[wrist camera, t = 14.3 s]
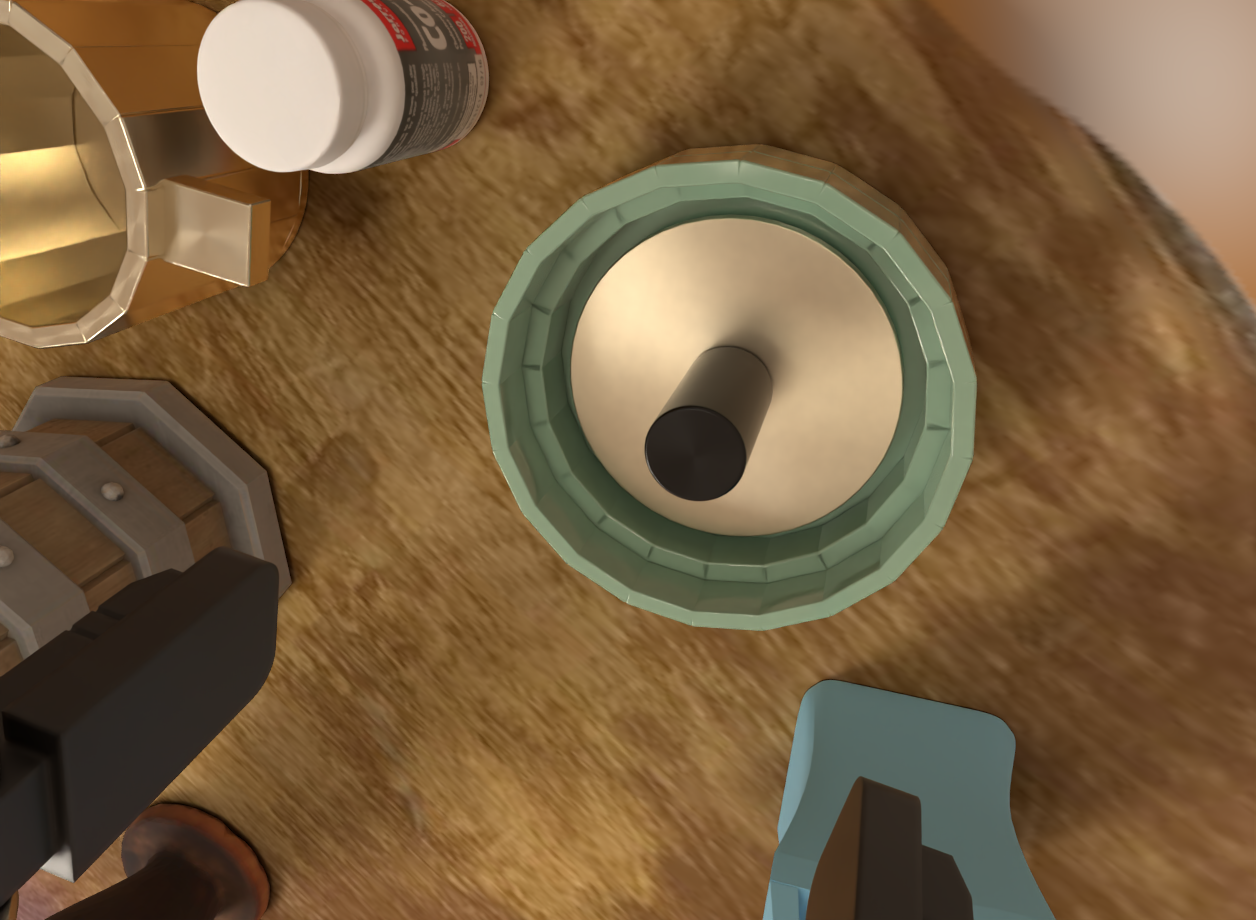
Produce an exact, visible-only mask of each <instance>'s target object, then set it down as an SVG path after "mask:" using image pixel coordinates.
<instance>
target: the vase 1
mask: <svg viewBox="0 0 1256 920" xmlns="http://www.w3.org/2000/svg"><path fill="white" fill-rule="evenodd" d="M121 858H122V862H123V866H124V870H125V873H126V875H127V877H128V878H126V879H124V880H122V881H121V882H119V883H117V884H115V885H113V886H111V887H109V888H107V889H105V890H103V891H101V892H99V893H97V894H94V895H92V896H90V897H88V898H86V899H84V900H82V901H80V902H78V903H76V904H74V905H72V906H70V907H68V908H66V909H64V910H62V911H60V912H58V913H56V914H54V915H52V916H50V917H48V918H47V919H45V920H260V918H261V917H262V915H263V914H264V912H265V911H266V909H267V905H268V902H269V898H270V891H269V886H270V885H269V882H268V879H267V876H266V873H265V871H264V869H263V867H262V866H261V864H260V863H259V861H258V859H257V856H256V854H255V853H254V852H253V850H252V849H251V848H250V847H249V846H248V844H247V843H246V842H245V841H243V840H242V839H240V838H239V837H238V836H236V835H235V834H234V833H233V832H232V831H231V830H229V829H228V828H227V826H226V825H225V824H224V823H223V822H222V821H220V820H219V819H217V818H215V817H213V816H211V815H209V814H207V813H205V812H203V811H201V810H199V809H196V808H192V807H190V806H185V805H177V804H158V805H156V806H153V807H149V808H147V809H146V810H144V811H143V812H142V813H141V814H140V815H139V816H138V817H137V818H136V819H135V820H134V821H133V822H132V823H131V824H130V826H129V827H128V829H127V830H126V832H125V835H124V838H123V841H122V854H121Z"/></svg>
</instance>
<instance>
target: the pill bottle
mask: <svg viewBox="0 0 1256 920" xmlns="http://www.w3.org/2000/svg"><path fill="white" fill-rule="evenodd" d="M197 79H198V86H199V92H200V96H201V99H202V103H203V106H204V108H205V111H206V113H207V115H208V118H209V120H210V122H211V124H212V125H213V127H214V128H215V130H216V131H217V133H218V134H219V136H220V137H221V139H222V140H223V141H224V142H225V143H226V144H227V145H228V146H229V147H230V148H231V150H233V151H234V152H235V153H236V154H237V155H239V156H240V157H241V158H243V159H244V160H246V161H247V162H249V163H251V164H253V165H255V166H257V167H259V168H262V169H265V170H269V171H274V172H293V171H299V170H307V169H310V170H313V171H316V172H321V173H328V174H341V173H350V172H355V171H360V170H363V169H367V168H371V167H375V166H379V165H383V164H387V163H391V162H395V161H399V160H403V159H407V158H411V157H415V156H419V155H423V154H427V153H431V152H435V151H439V150H442V149H445V148H448V147H450V146H452V145H454V144H456V143H457V142H459V141H460V140H462V139H463V138H464V137H465V136H466V135H467V134H468V133H469V132H470V131H471V130H472V128H473V127H474V126H475V124H476V123H477V121H478V119H479V117H480V115H481V113H482V111H483V109H484V106H485V103H486V99H487V94H488V88H489V70H488V63H487V58H486V54H485V51H484V48H483V45H482V43H481V41H480V38H479V36H478V34H477V33H476V31H475V29H474V28H473V26H472V25H471V24H470V22H469V21H468V20H467V19H466V17H465V16H464V15H463V14H462V13H461V12H460V11H458V10H457V9H456V8H455V7H454V6H452V5H451V4H449V3H448V2H446V1H445V0H240V1H238V2H235V3H233V4H231V5H229V6H227V7H226V8H224V9H223V10H222V11H221V12H220V13H219V14H218V15H217V16H216V17H215V18H214V19H213V20H212V21H211V23H210V24H209V26H208V28H207V29H206V32H205V34H204V36H203V38H202V41H201V45H200V48H199V53H198V60H197Z"/></svg>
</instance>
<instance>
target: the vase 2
mask: <svg viewBox="0 0 1256 920" xmlns="http://www.w3.org/2000/svg"><path fill="white" fill-rule="evenodd" d="M1015 749H1016V741H1015V737H1014V734H1013V733H1012V731H1011V730H1010V729H1009V727H1008V726H1007V725H1006V723H1005V722H1004V721H1002V720H1001V719H1000V718H998V717H996V716H994V715H991V714H988V713H984V712H980V711H976V710H972V709H968V708H963V707H959V706H954V705H949V704H945V703H940V702H936V701H931V700H926V699H922V698H917V697H913V696H908V695H903V694H899V693H894V692H890V691H885V690H880V689H876V688H871V687H867V686H862V685H857V684H853V683H848V682H843V681H837V680H825V681H822V682H820V683H818V684H816V685H815V686H813V687H811V688H810V689H809V690H808V691H807V692H806V693H805V695H804V697H803V699H802V702H801V705H800V709H799V713H798V718H797V723H796V728H795V734H794V739H793V745H792V750H791V756H790V762H789V767H788V773H787V778H786V784H785V789H784V795H783V800H782V806H781V812H780V817H779V823H778V838H779V846H778V848H777V850H776V851H775V854H774V860H773V865H772V871H771V876H770V882H769V887H768V893H767V898H766V904H765V909H764V915H763V920H805V919H806V911H807V904H808V898H809V894H810V889H811V885H812V881H813V878H814V874H815V871H816V868H817V865H818V862H819V860H820V857H821V855H822V853H823V850H824V848H825V846H826V844H827V842H828V839H829V837H830V835H831V833H832V830H833V828H834V826H835V824H836V822H837V819H838V817H839V815H840V813H841V811H842V808H843V806H844V804H845V802H846V799H847V797H848V795H849V793H850V791H851V788H852V786H853V784H854V782H855V781H856V779H857V778H858V777H859V776H862V777H865V778H868V779H870V780H873V781H876V782H879V783H882V784H884V785H887V786H890V787H893V788H896V789H898V790H901V791H904V792H907V793H909V794H912V795H915V796H918V797H919V799H920V802H921V825H922V845H925V846H927V847H930V848H933V849H936V850H938V851H941V852H944V853H947V854H949V855H952V856H953V858H954V860H955V862H956V865H957V867H958V869H959V871H960V873H961V875H962V877H963V879H964V881H965V884H966V886H967V888H968V890H969V892H970V894H971V896H972V904H973V918H974V920H1056V919H1055V917H1054V915H1053V914H1052V912H1051V910H1050V908H1049V906H1048V904H1047V902H1046V901H1045V899H1044V897H1043V895H1042V893H1041V891H1040V889H1039V887H1038V885H1037V883H1036V881H1035V879H1034V877H1033V875H1032V873H1031V871H1030V869H1029V867H1028V865H1027V862H1026V860H1025V857H1024V855H1023V853H1022V850H1021V848H1020V845H1019V843H1018V840H1017V836H1016V833H1015V830H1014V826H1013V823H1012V820H1011V813H1010V785H1011V775H1012V769H1013V762H1014V756H1015Z"/></svg>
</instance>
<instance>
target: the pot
mask: <svg viewBox="0 0 1256 920" xmlns="http://www.w3.org/2000/svg"><path fill="white" fill-rule="evenodd" d="M217 15H218V13H216V12H214V11H212V10H210V9H208V8H206V7H204V6H202V5H199V4H197V3H194V2H191V1H188V0H0V336H2V337H5V338H8V339H11V340H14V341H16V342H19V343H22V344H25V345H28V346H31V347H34V348H39V349H44V348H53V347H62V346H70V345H79V344H87V343H90V342H93V341H95V340H98V339H101V338H103V337H106V336H109V335H111V334H114V333H117V332H119V331H122V330H124V329H127V328H130V327H132V326H135V325H138V324H140V323H143V322H146V321H148V320H151V319H154V318H156V317H159V316H162V315H164V314H167V313H169V312H172V311H175V310H177V309H180V308H183V307H185V306H188V305H191V304H193V303H196V302H199V301H201V300H204V299H207V298H209V297H212V296H215V295H217V294H220V293H222V292H225V291H228V290H230V289H233V288H236V287H238V286H245V287H251V286H253V285H256V284H259V283H261V282H264V281H266V280H267V279H268V269H269V268H270V267H271V266H272V265H274V264H275V263H276V262H277V261H278V260H279V259H280V258H281V257H282V255H283V254H284V253H285V252H286V250H287V249H288V248H289V246H290V244H291V243H292V241H293V239H294V238H295V236H296V234H297V231H298V229H299V226H300V224H301V221H302V219H303V215H304V211H305V207H306V203H307V194H308V186H309V169H307V170H299V171H293V172H274V171H269V170H265V169H262V168H259V167H257V166H255V165H253V164H251V163H249V162H247V161H246V160H244V159H243V158H241V157H240V156H239V155H237V154H236V153H235V152H234V151H233V150H231V148H230V147H229V146H228V145H227V144H226V143H225V142H224V141H223V140H222V139H221V137H220V136H219V134H218V133H217V131H216V130H215V128H214V127H213V125H212V124H211V122H210V120H209V118H208V115H207V113H206V111H205V108H204V106H203V103H202V99H201V96H200V92H199V86H198V79H197V60H198V53H199V48H200V45H201V41H202V38H203V36H204V34H205V32H206V29H207V28H208V26H209V24H210V23H211V21H212V20H213V19H214V18H215V17H216V16H217Z"/></svg>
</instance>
